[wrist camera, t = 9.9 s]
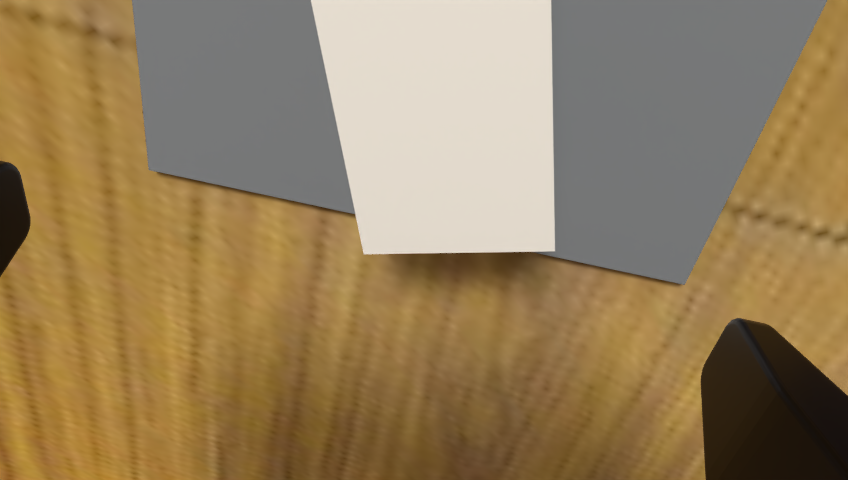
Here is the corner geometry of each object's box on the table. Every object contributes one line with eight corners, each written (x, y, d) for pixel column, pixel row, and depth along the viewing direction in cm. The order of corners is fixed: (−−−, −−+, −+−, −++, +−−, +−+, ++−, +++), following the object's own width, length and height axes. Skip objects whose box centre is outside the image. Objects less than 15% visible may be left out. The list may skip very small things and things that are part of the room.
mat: (938, -240, 14) (948, -241, 14) (682, 277, 22) (684, 284, 22) (102, -399, 14) (92, -403, 14) (154, 164, 23) (148, 169, 22)
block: (553, 174, 20) (555, 251, 17) (391, 180, 21) (363, 253, 18) (546, -228, 15) (547, -229, 11) (328, -196, 16) (271, -188, 12)
